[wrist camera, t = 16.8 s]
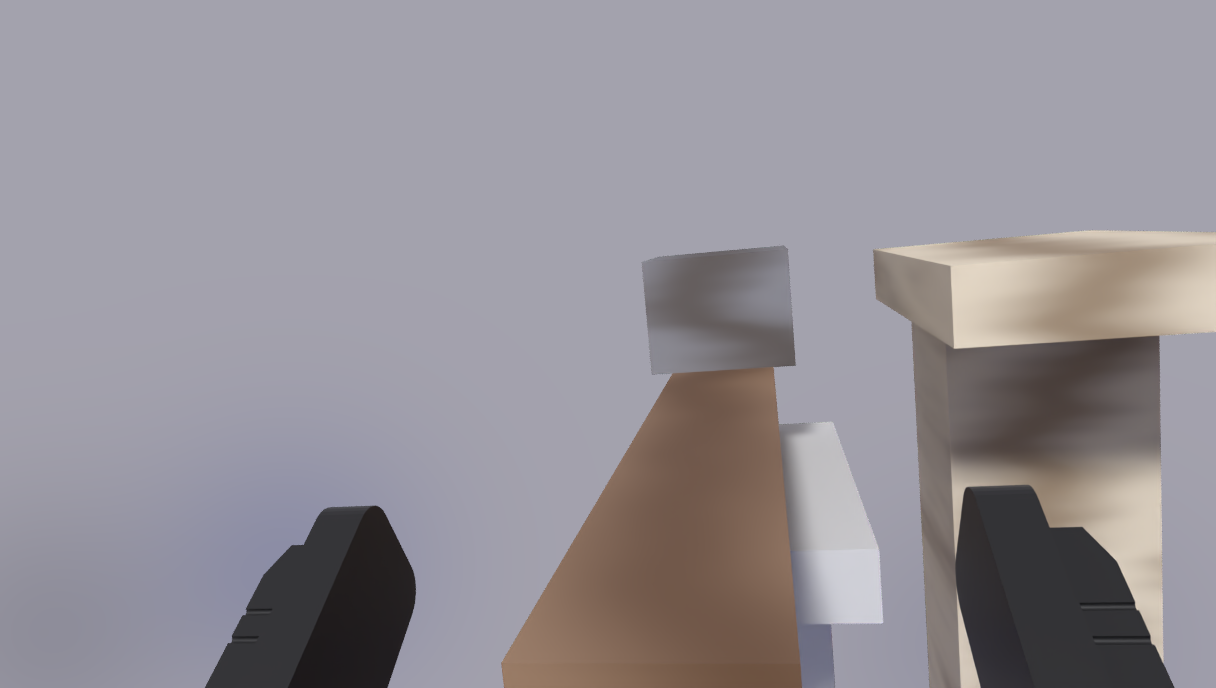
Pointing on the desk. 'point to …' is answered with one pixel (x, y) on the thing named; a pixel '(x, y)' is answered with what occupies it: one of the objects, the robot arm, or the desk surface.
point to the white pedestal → (826, 546)
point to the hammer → (686, 505)
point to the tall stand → (1044, 392)
